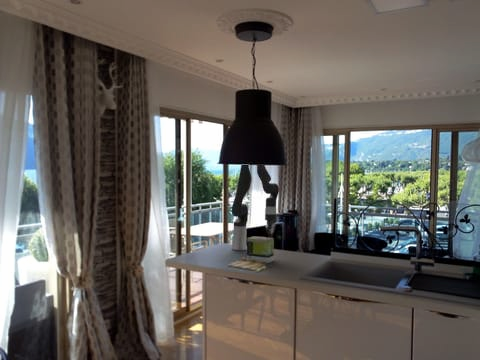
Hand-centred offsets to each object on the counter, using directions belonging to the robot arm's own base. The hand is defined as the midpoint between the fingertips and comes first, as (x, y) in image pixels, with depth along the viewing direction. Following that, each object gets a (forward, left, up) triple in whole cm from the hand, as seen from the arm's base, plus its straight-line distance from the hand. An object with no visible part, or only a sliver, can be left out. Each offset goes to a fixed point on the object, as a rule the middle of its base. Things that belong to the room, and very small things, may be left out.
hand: (270, 238), depth 268 cm
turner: (+11, -31, -12) cm, 35 cm away
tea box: (0, -13, -12) cm, 18 cm away
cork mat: (0, -29, -12) cm, 32 cm away
